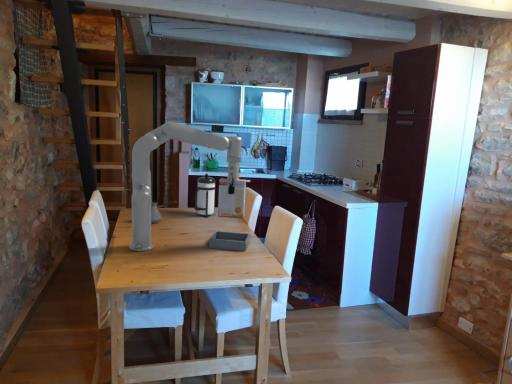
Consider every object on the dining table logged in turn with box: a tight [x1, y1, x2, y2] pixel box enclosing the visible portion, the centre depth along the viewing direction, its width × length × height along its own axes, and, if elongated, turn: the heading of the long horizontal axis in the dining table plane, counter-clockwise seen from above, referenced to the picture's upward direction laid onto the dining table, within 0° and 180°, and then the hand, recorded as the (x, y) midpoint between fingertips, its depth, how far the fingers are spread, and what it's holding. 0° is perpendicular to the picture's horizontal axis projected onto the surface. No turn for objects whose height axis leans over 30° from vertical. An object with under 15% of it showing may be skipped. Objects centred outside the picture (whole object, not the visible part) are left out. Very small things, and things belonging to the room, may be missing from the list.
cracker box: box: [217, 177, 247, 220], centre depth 217 cm, size 14×6×21 cm, turn 84°
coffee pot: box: [151, 200, 178, 225], centre depth 258 cm, size 21×12×15 cm, turn 90°
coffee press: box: [193, 173, 217, 219], centre depth 280 cm, size 17×16×30 cm
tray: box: [208, 230, 251, 252], centre depth 221 cm, size 16×20×5 cm
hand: (232, 192), depth 216 cm, fingers closed on cracker box, 5 cm apart
